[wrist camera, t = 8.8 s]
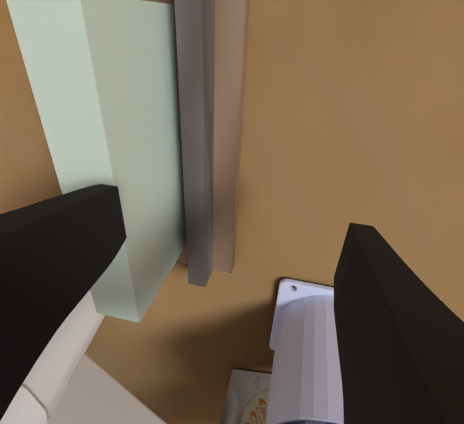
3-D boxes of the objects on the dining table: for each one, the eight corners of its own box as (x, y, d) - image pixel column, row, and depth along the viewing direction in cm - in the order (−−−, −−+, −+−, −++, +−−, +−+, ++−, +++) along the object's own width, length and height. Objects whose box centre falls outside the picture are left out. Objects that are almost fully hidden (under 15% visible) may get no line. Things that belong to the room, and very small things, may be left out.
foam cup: (21, 252, 28) (-162, 393, 17) (76, 209, 24) (-124, 364, 13) (96, 319, 31) (-23, 477, 20) (157, 292, 27) (47, 476, 16)
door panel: (175, 4, 14) (79, -7, 9) (187, 243, 22) (139, 323, 16) (126, 2, 15) (3, -10, 9) (154, 236, 22) (96, 312, 16)
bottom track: (251, -47, 13) (238, -60, 11) (233, 265, 23) (225, 291, 21) (69, -49, 15) (27, -60, 13) (123, 244, 25) (105, 266, 22)
